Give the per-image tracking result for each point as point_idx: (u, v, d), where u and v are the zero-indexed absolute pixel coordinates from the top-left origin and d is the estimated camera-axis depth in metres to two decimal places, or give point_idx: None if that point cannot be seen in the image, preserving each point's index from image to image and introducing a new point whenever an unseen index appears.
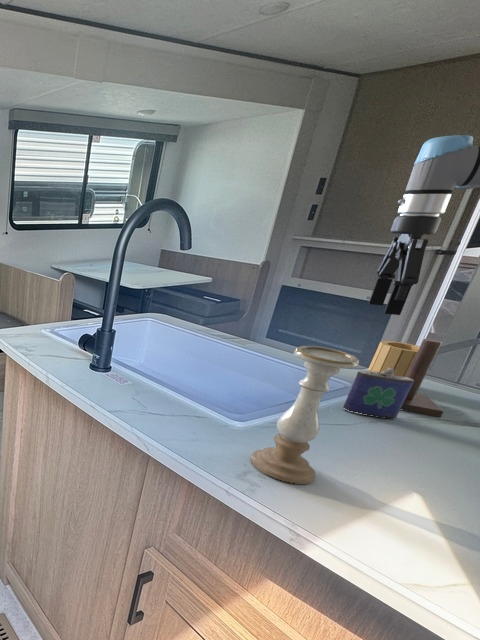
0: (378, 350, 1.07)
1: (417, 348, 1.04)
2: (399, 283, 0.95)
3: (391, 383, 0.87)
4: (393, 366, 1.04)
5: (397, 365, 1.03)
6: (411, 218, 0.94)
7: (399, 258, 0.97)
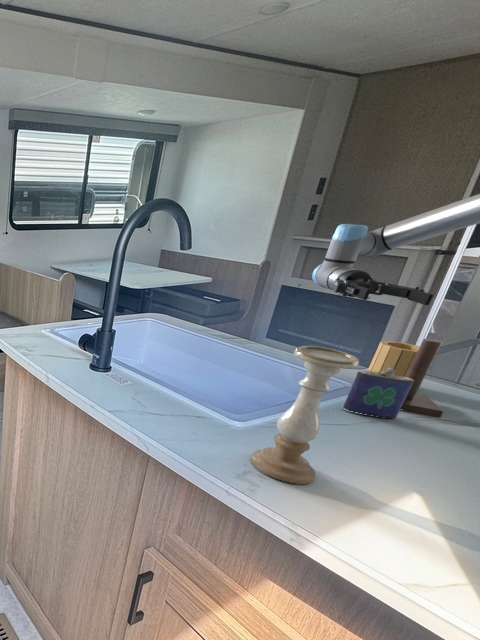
0: (378, 350, 1.07)
1: (417, 348, 1.04)
2: (343, 292, 1.17)
3: (391, 383, 0.87)
4: (393, 366, 1.04)
5: (397, 365, 1.03)
6: None
7: None
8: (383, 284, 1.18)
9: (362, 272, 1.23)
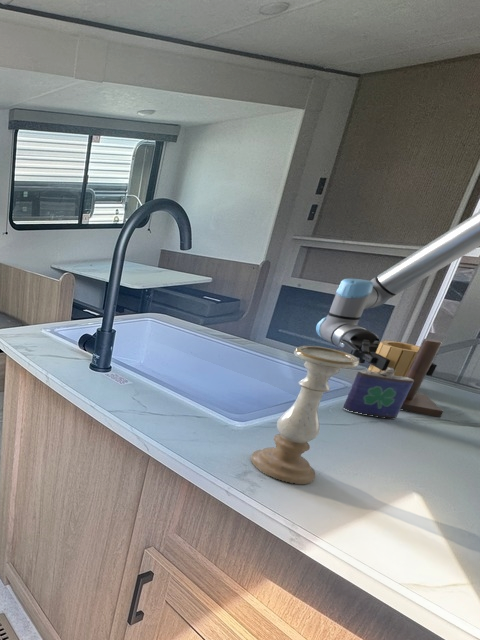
0: (378, 350, 1.07)
1: (417, 348, 1.04)
2: (361, 359, 1.10)
3: (391, 383, 0.87)
4: (393, 366, 1.04)
5: (397, 365, 1.03)
6: None
7: None
8: None
9: (368, 332, 1.17)
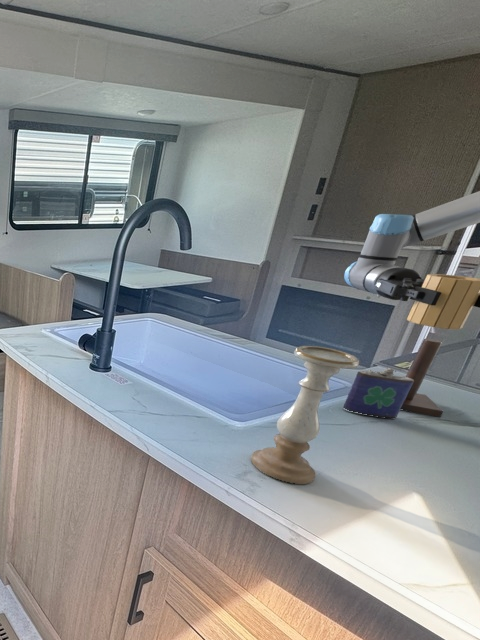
0: (425, 284, 0.91)
1: (472, 279, 0.88)
2: (403, 296, 0.94)
3: (391, 383, 0.87)
4: (444, 300, 0.88)
5: (449, 299, 0.87)
6: (376, 289, 1.07)
7: None
8: None
9: (408, 270, 1.02)
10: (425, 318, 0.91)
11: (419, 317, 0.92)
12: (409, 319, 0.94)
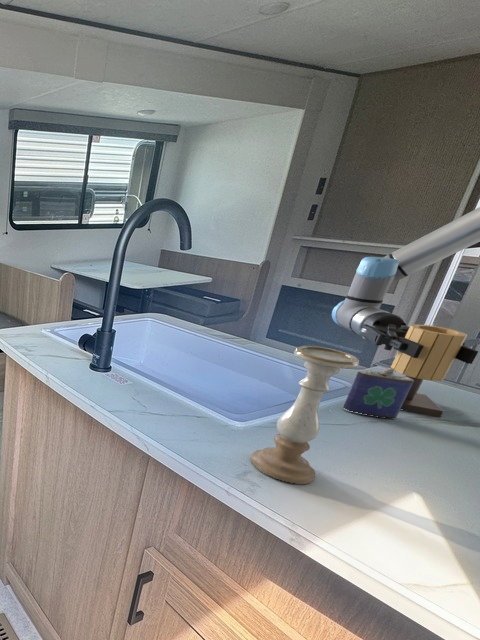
0: (408, 335, 0.93)
1: (454, 332, 0.90)
2: (387, 346, 0.96)
3: (391, 383, 0.87)
4: (426, 353, 0.90)
5: (431, 352, 0.89)
6: None
7: None
8: None
9: (393, 316, 1.03)
10: (408, 369, 0.92)
11: (402, 367, 0.93)
12: (393, 368, 0.96)
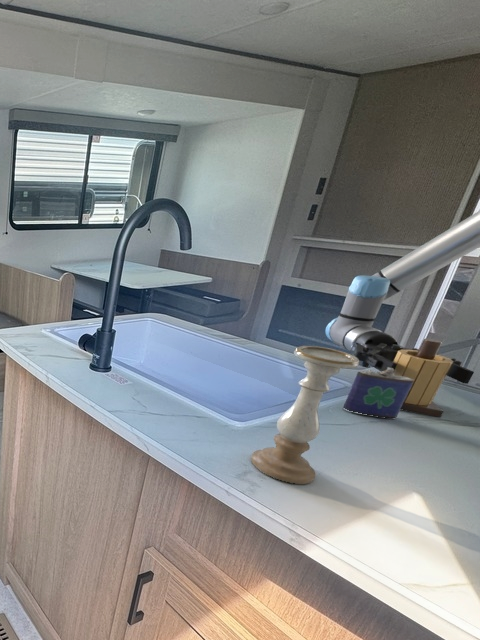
0: (396, 360, 0.95)
1: (440, 358, 0.92)
2: (363, 362, 0.99)
3: (391, 383, 0.87)
4: (413, 378, 0.92)
5: (418, 377, 0.91)
6: None
7: None
8: None
9: (385, 335, 1.05)
10: None
11: None
12: None
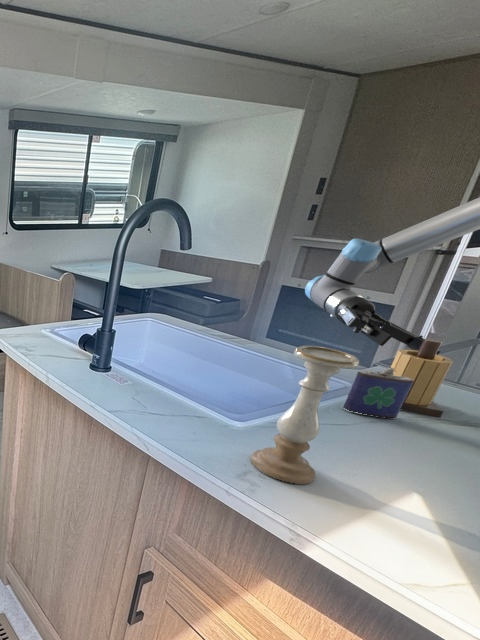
0: (396, 360, 0.95)
1: (440, 358, 0.92)
2: (356, 328, 1.06)
3: (391, 383, 0.87)
4: (413, 378, 0.92)
5: (418, 377, 0.91)
6: (336, 312, 1.18)
7: None
8: (387, 323, 1.10)
9: (369, 303, 1.13)
10: None
11: None
12: None
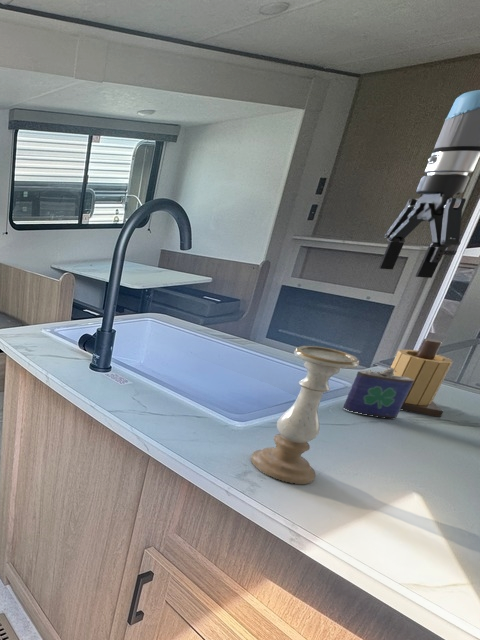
0: (396, 360, 0.95)
1: (440, 358, 0.92)
2: (437, 244, 0.92)
3: (391, 383, 0.87)
4: (413, 378, 0.92)
5: (418, 377, 0.91)
6: (445, 176, 0.92)
7: (430, 219, 0.95)
8: (424, 219, 1.00)
9: None
10: None
11: None
12: None
